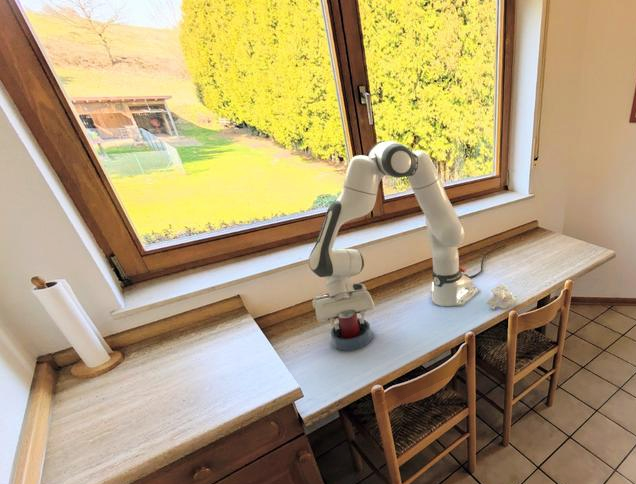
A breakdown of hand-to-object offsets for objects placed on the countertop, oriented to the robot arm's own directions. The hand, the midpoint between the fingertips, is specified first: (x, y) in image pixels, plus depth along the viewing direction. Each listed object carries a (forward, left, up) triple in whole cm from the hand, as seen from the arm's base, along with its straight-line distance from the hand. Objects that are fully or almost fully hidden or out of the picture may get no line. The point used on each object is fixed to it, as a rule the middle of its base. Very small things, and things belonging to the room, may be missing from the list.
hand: (350, 327), depth 131 cm
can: (0, -1, -6) cm, 6 cm away
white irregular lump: (-57, +26, -7) cm, 63 cm away
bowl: (0, -1, -7) cm, 7 cm away
